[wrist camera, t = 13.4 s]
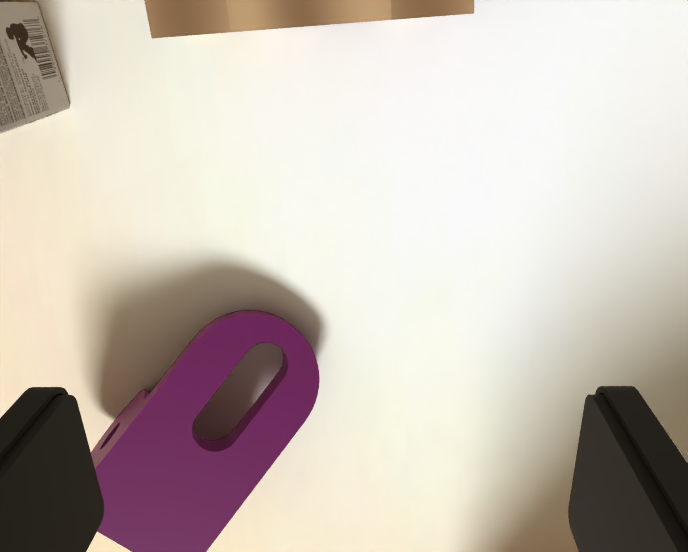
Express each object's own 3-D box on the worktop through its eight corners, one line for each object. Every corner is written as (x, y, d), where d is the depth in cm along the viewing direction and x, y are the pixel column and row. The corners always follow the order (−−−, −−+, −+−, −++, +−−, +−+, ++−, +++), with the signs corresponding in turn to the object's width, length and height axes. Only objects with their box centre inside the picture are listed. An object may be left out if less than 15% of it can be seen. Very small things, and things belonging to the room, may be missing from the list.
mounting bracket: (229, 275, 48) (82, 459, 46) (239, 286, 39) (61, 510, 38) (319, 344, 50) (182, 521, 48) (346, 368, 42) (183, 581, 40)
